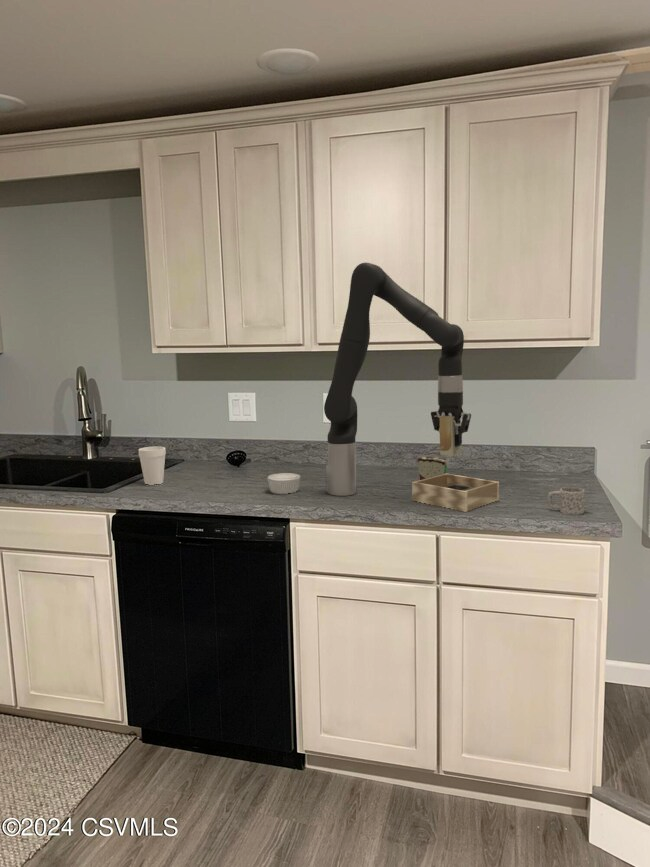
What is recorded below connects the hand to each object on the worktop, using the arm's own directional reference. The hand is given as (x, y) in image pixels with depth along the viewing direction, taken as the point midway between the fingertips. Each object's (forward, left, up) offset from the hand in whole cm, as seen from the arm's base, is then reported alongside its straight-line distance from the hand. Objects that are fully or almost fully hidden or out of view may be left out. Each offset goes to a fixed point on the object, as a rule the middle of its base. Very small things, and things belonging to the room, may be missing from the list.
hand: (450, 445), depth 208 cm
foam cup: (-95, -49, -18) cm, 109 cm away
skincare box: (0, 0, -3) cm, 3 cm away
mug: (+32, +13, -18) cm, 39 cm away
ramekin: (-50, -25, -18) cm, 59 cm away
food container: (-17, +16, -18) cm, 30 cm away
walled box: (+1, +2, -18) cm, 18 cm away
